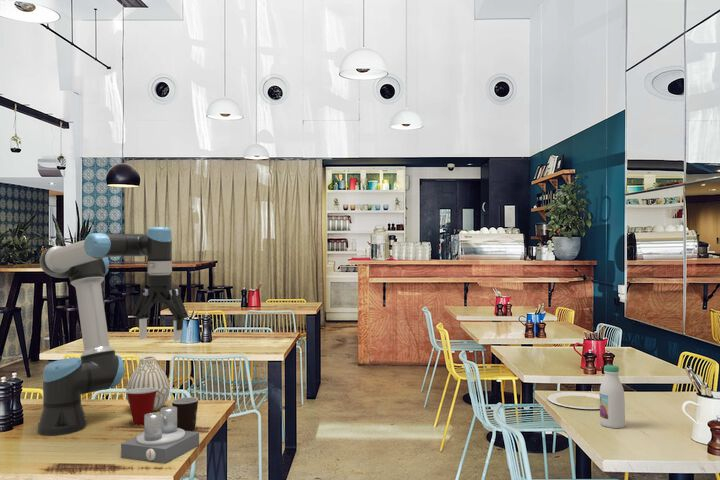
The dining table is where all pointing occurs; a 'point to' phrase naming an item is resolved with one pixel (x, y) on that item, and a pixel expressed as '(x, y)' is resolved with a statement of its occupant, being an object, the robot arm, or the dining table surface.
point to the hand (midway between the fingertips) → (160, 339)
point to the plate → (553, 397)
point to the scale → (160, 446)
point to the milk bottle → (612, 399)
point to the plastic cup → (141, 403)
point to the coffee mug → (186, 412)
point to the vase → (150, 380)
